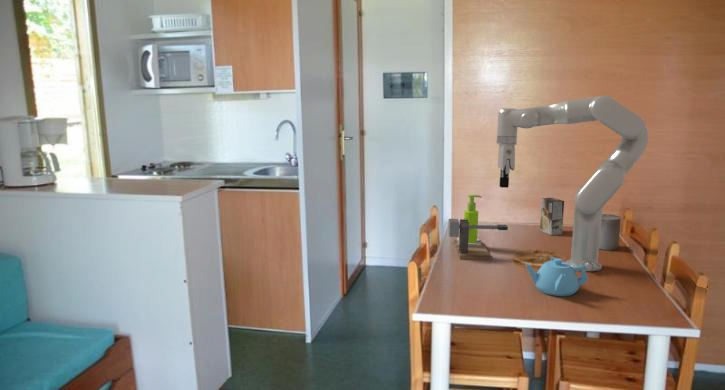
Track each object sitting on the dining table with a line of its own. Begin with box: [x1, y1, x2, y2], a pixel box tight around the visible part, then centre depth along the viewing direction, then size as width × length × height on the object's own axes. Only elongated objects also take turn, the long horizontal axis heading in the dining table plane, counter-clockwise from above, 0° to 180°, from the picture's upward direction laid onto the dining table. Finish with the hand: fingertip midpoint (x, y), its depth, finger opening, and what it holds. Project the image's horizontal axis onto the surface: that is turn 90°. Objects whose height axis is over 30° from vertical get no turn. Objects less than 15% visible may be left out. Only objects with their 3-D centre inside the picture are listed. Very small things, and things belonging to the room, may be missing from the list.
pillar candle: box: [599, 213, 621, 252], centre depth 228 cm, size 10×10×15 cm
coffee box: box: [539, 197, 565, 236], centre depth 253 cm, size 9×6×16 cm
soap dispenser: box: [463, 194, 482, 243], centre depth 228 cm, size 6×7×20 cm
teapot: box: [525, 256, 589, 297], centre depth 179 cm, size 15×15×11 cm
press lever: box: [447, 218, 509, 238], centre depth 215 cm, size 6×23×6 cm, turn 87°
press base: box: [452, 218, 491, 261], centre depth 223 cm, size 24×12×14 cm, turn 177°
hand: (503, 187), depth 212 cm, fingers closed
